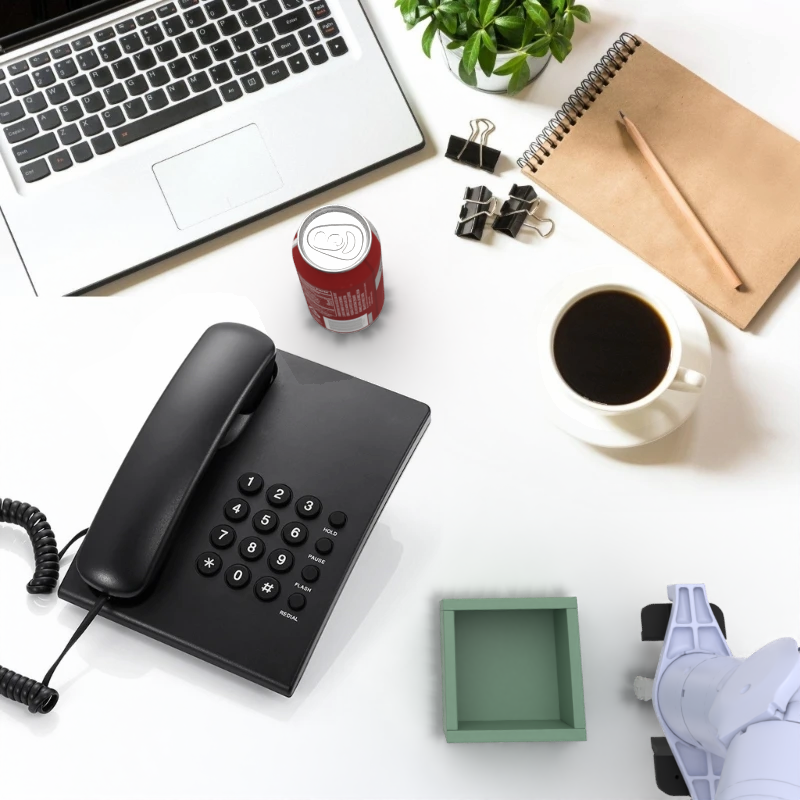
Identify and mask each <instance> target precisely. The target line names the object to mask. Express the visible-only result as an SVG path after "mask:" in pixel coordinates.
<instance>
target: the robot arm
mask: <svg viewBox="0 0 800 800" xmlns="http://www.w3.org/2000/svg"><path fill="white" fill-rule="evenodd" d="M666 593H667V600H668V601H670V602H665V603H664V602H663V603H662V602H661V603H660V602H659V603H658V602H657V603H655V602H654V603H649V604H646V605H645V606H643V607H642V608H641V609H640V624H641V631H640V637H641V638H640V639H641V642H663V643H662V646H661V651H660V655H659V658H658V662H657V667H656V670H655V675H654V677H653V679H654V682H653V687H652V699H651V700H652V701H651V702H652V706H653V710H654V713H655V716H656V718H657V721H658V724H659V725H660V727H661V729H662V732H663V734H664V736H650V748H651V751H652V753H653V755H652V756H653V769H654V776H655V784H656V787H657V789H658V790H659V791H660V792H662V793H664V794H665V795H667V796H669V797H670V796H671V797H689V798H690V799H689V800H800V646H799V644H798V641H797V640H796V639H795V638H793V637H790V636H785V637H781V638H777V639H774V640H772V641H770V642H768V643H766V644H765V645H763V646H761V647H760V648H758V649H757V650H755V651H754V652H753V653H752V654H750V655H749V656H748V657H741V656H734V654H733V653H732V651H731V649H730V646H729V644H728V643H727V640H728V638H727V637H728V636H727V630H726V629H727V628H726V622H725V620H726V619H725V615H724V612H723V610H722V608H720V606H718V605H717V604H715V603H713V602H709V598H708V594H707V589H706V584H705V583H674V584H667V585H666Z"/></svg>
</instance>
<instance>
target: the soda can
mask: <svg viewBox="0 0 800 800" xmlns="http://www.w3.org/2000/svg"><path fill="white" fill-rule="evenodd" d="M291 245H292V246H291V257H292V261H293V264H294V267H295V270H296V274H297V278H298V280H299V283H300V286H301V289H302V291H303V292H302V293H303V296H304V300H305V302H306V304H307V309H308V311H309V313H310V315H311V317H312V318H313V320H314V321H315V322H316V323H317V324H318V325H319V326H320V327H321V328H323V329H325V330H327V331H329V332H332V333H335V334H340V335H341V334H342V335H347V334H348V335H349V334H356V333H359V332H361V331H363V330H365V329H367V328H368V327H370V326H371V325H372V324H374V323H375V321H376V320H377V319H378V318H379V317H380V315H381V313H382V311H383V308H384V304H385V298H386V297H385V296H386V295H385V283H384V281H385V280H384V269H383V267H384V266H383V254H382V252H383V251H382V243H381V238H380V235H379V233H378V230H377V229H376V227H375V226H374V225H373V223H372V222H371V221H370V220H369V219H368V218H367V217H366V216H364V215H363V214H362V213H361V212H360V211H358V210H356V208H353V207H352V206H348V205H345V204H339V203H332V204H331V203H330V204H326V205H322V206H319V207H317V208H315V209H313V210H312V211H310V213H308V214H307V215H306V216H305V217H304V218H303V220H302V221H301V223H300V225H299V227H298V229H297V230H296V232H295V235H294V236H293V240H292V244H291Z"/></svg>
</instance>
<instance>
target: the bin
mask: <svg viewBox="0 0 800 800" xmlns="http://www.w3.org/2000/svg"><path fill="white" fill-rule="evenodd" d="M439 628H440V629H439V633H440V637H439V638H440V668H441V669H440V671H441V673H440V675H441V702H442V703H441V708H442V709H441V711H442V712H441V713H442V732H443V735H444V739H445V741H446V743H447V744H469V743H470V744H473V743H475V744H476V743H477V744H479V743H482V744H483V743H542V742H543V743H544V742H545V743H547V742H549V743H551V742H554V743H555V742H587V741H588V737H587V722H586V708H585V694H584V693H585V692H584V680H583V668H582V653H581V652H582V651H581V637H580V624H579V611H578V598H577V596H547V597H545V596H543V597H542V596H540V597H537V596H536V597H484V598H483V597H482V598H481V597H480V598H479V597H477V598H475V597H474V598H442V599H441V600H439Z"/></svg>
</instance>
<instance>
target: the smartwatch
mask: <svg viewBox="0 0 800 800" xmlns="http://www.w3.org/2000/svg"><path fill="white" fill-rule="evenodd" d="M633 681H634V682H633V685H632V686H633V691H634V695H635V697H636V700H639V701H644V702H648V701H651V700H652V687H653V682H654V678H649V677H648V678H647V677H646V676H644V677H643V676H642V675H636V677H635V678H634V680H633Z"/></svg>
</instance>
